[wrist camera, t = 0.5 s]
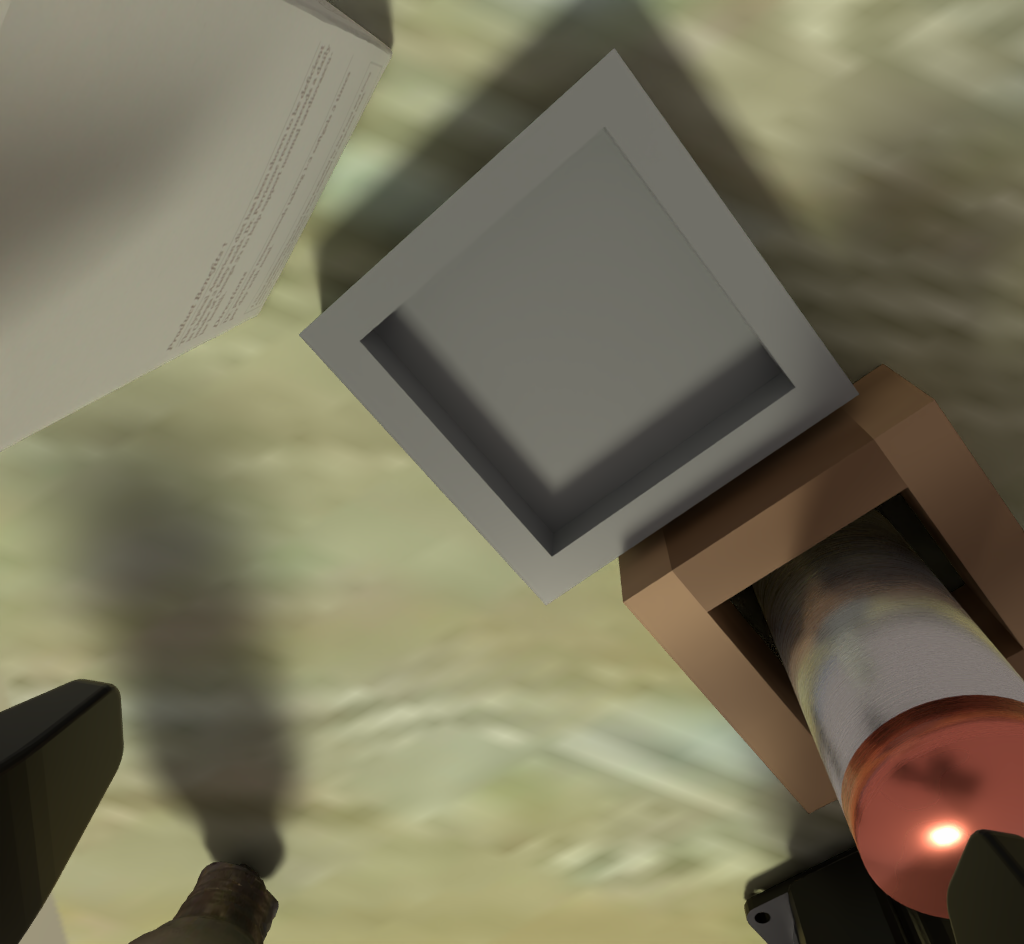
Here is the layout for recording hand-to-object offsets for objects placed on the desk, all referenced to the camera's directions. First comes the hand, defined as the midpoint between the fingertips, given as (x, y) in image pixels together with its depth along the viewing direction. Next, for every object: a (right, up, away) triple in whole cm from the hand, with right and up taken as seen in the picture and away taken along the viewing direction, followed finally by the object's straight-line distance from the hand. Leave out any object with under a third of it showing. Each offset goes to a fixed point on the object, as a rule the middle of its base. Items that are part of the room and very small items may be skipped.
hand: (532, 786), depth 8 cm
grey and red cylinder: (+8, +1, +13) cm, 15 cm away
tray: (+1, +6, +11) cm, 13 cm away
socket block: (+8, +1, +13) cm, 15 cm away
